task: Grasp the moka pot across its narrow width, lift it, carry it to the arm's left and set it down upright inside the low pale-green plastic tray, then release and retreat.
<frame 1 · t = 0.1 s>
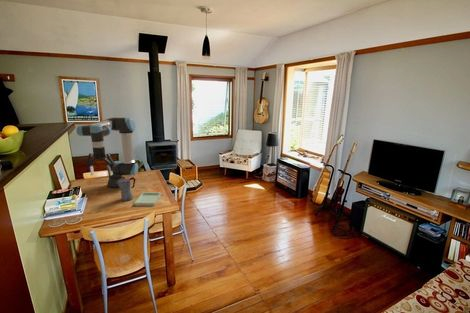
hand: (102, 175, 176), 28 cm above the table, tool pointing down, fingers open, 13 cm apart
moka pot: (127, 199, 203), on the table
tray: (148, 200, 201), on the table
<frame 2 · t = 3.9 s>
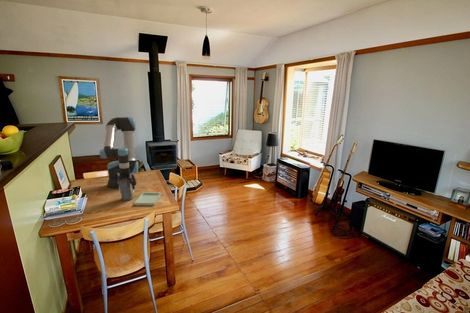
hand: (126, 192, 201), 6 cm above the table, tool pointing down, fingers closed on moka pot, 9 cm apart
moka pot: (127, 199, 202), on the table, touching gripper
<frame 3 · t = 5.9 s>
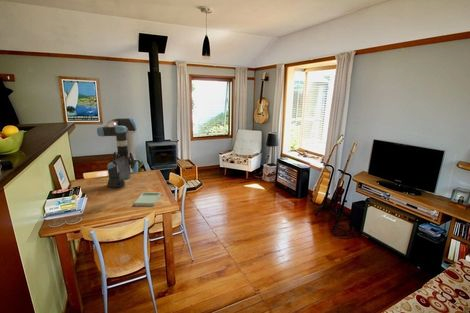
hand: (124, 172, 197), 24 cm above the table, tool pointing down, fingers closed on moka pot, 9 cm apart
moka pot: (125, 178, 198), point 18 cm above the table, touching gripper
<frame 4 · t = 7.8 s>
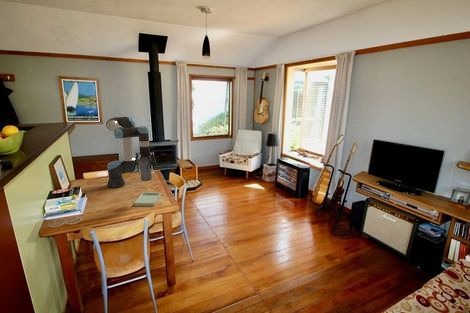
hand: (146, 172, 195), 24 cm above the table, tool pointing down, fingers closed on moka pot, 9 cm apart
moka pot: (146, 179, 197), point 18 cm above the table, touching gripper
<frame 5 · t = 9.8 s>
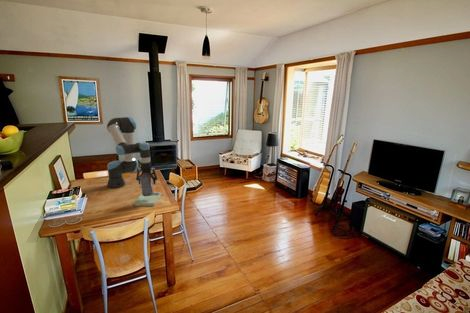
hand: (147, 187, 198), 11 cm above the table, tool pointing down, fingers closed on moka pot, 9 cm apart
moka pot: (148, 194, 200), point 5 cm above the table, touching gripper
when the fingers open (8 cm above the table, at t = 11.6 s): moka pot drops 1 cm, point 1 cm above the table.
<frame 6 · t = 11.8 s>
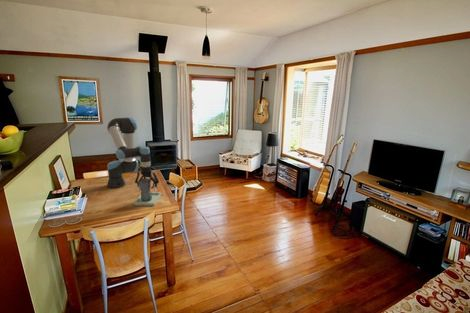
hand: (147, 190, 199), 8 cm above the table, tool pointing down, fingers open, 12 cm apart
moka pot: (146, 199, 201), point 1 cm above the table, touching gripper
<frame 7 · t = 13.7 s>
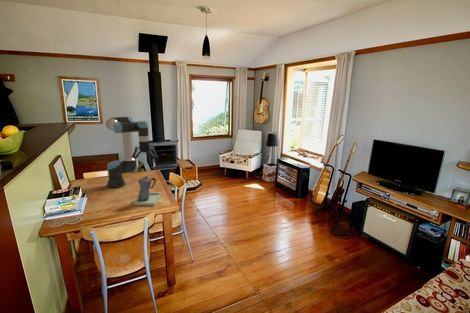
hand: (145, 166, 194), 29 cm above the table, tool pointing down, fingers open, 13 cm apart
moka pot: (143, 198, 201), point 1 cm above the table, touching tray
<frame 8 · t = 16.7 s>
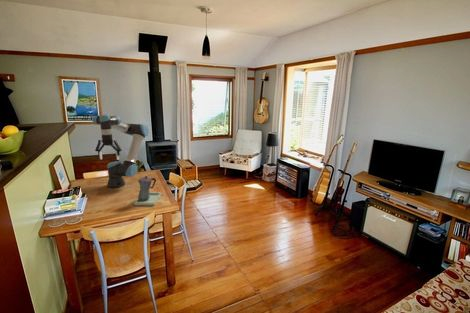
hand: (109, 159, 199), 33 cm above the table, tool pointing down, fingers open, 13 cm apart
nothing on the table moved.
at the end: moka pot inside the target area on the tray (3.8 cm from its centre), point 1.4 cm above the tray's base; moka pot tilted 14°; the gripper is holding nothing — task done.
